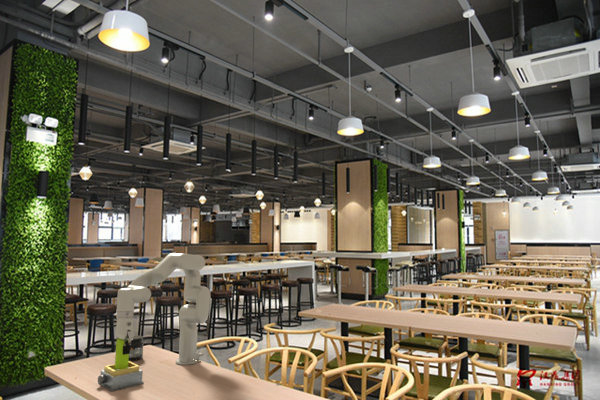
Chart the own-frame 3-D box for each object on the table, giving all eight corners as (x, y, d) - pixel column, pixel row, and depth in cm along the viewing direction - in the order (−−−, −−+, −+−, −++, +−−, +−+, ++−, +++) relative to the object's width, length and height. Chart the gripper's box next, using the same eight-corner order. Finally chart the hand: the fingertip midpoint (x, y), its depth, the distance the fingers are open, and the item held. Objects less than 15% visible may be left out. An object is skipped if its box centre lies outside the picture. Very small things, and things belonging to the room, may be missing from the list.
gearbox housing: (129, 376, 206) (130, 359, 207) (143, 383, 196) (144, 366, 197) (94, 384, 194) (95, 366, 195) (107, 392, 184) (108, 374, 185)
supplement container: (129, 355, 242) (130, 335, 243) (146, 356, 241) (147, 335, 242) (119, 361, 232) (120, 339, 233) (137, 361, 231) (138, 339, 232)
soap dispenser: (125, 370, 193) (127, 326, 194) (111, 368, 194) (114, 325, 196) (132, 366, 199) (135, 324, 200) (119, 364, 200) (122, 322, 201)
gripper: (140, 315, 196) (138, 354, 194) (125, 311, 208) (123, 347, 206) (124, 317, 190) (122, 358, 189) (109, 312, 202) (107, 350, 201)
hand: (123, 352), depth 197 cm, fingers closed on soap dispenser, 6 cm apart
